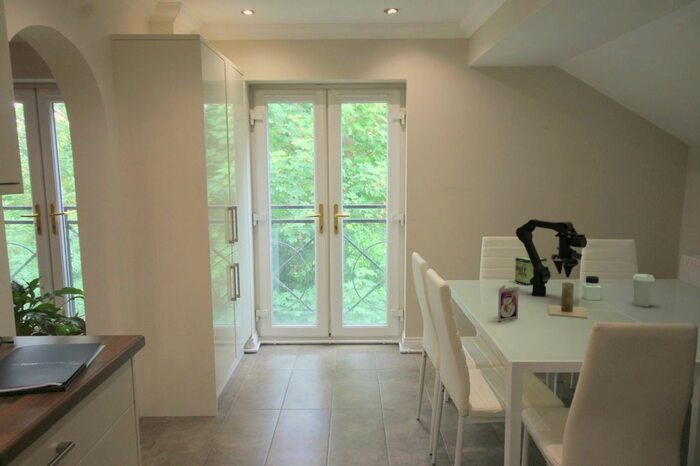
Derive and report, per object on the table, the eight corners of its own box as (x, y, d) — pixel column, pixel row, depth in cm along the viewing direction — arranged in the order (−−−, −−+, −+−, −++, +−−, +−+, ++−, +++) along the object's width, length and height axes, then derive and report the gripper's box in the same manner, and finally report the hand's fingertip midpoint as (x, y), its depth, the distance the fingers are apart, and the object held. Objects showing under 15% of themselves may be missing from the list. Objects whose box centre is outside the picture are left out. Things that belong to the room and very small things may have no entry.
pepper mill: (559, 310, 221) (560, 283, 219) (564, 308, 224) (565, 282, 222) (569, 312, 217) (570, 285, 215) (574, 310, 220) (575, 283, 219)
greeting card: (499, 322, 206) (500, 289, 204) (488, 318, 213) (488, 286, 211) (519, 319, 210) (520, 287, 209) (507, 315, 217) (508, 283, 216)
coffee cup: (646, 308, 224) (647, 278, 223) (626, 304, 233) (628, 274, 231) (657, 305, 229) (659, 275, 227) (638, 301, 237) (639, 272, 235)
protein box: (514, 282, 286) (514, 257, 284) (533, 280, 292) (534, 255, 290) (527, 285, 276) (527, 260, 275) (546, 283, 282) (547, 258, 281)
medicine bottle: (601, 300, 240) (602, 277, 239) (586, 300, 242) (587, 277, 241) (596, 297, 247) (597, 275, 246) (582, 296, 249) (583, 274, 247)
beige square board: (548, 315, 216) (548, 313, 216) (548, 306, 231) (548, 304, 231) (587, 318, 210) (587, 316, 210) (584, 309, 225) (584, 307, 224)
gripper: (589, 248, 230) (588, 279, 232) (572, 243, 249) (571, 271, 250) (566, 248, 230) (565, 279, 232) (551, 243, 249) (550, 272, 251)
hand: (563, 275), depth 241 cm, fingers open, 9 cm apart
